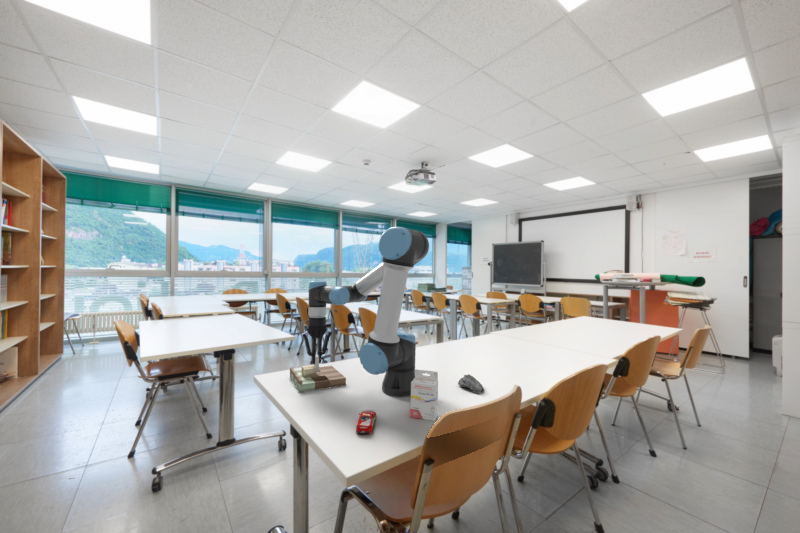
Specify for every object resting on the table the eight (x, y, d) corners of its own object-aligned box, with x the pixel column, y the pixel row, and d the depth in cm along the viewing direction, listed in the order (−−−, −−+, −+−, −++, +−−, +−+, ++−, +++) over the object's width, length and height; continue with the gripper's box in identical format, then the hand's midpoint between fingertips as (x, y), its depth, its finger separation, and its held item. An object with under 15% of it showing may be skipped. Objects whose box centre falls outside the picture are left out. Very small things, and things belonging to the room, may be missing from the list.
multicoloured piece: (345, 385, 138) (345, 374, 138) (299, 392, 129) (299, 380, 129) (331, 371, 155) (331, 362, 155) (289, 377, 146) (290, 367, 146)
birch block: (316, 376, 139) (316, 368, 139) (304, 378, 137) (304, 369, 137) (313, 373, 143) (313, 365, 144) (301, 374, 141) (301, 366, 141)
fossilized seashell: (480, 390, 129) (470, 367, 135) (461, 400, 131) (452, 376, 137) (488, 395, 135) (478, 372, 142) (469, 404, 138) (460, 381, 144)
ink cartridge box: (409, 417, 108) (410, 372, 108) (413, 411, 113) (414, 368, 113) (435, 421, 105) (436, 375, 106) (438, 415, 110) (438, 371, 110)
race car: (361, 416, 109) (361, 404, 109) (377, 417, 109) (377, 405, 109) (353, 436, 96) (353, 422, 96) (371, 436, 96) (372, 423, 96)
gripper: (329, 314, 149) (328, 366, 148) (300, 316, 142) (298, 370, 142) (334, 316, 142) (333, 371, 142) (303, 318, 136) (302, 375, 135)
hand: (316, 370), depth 142 cm, fingers closed
